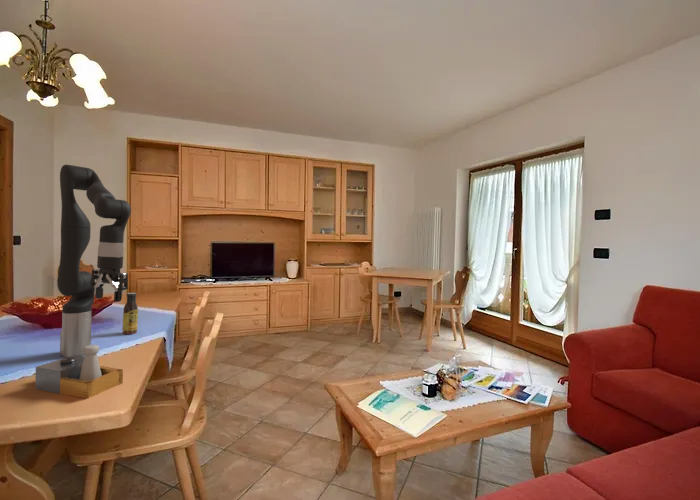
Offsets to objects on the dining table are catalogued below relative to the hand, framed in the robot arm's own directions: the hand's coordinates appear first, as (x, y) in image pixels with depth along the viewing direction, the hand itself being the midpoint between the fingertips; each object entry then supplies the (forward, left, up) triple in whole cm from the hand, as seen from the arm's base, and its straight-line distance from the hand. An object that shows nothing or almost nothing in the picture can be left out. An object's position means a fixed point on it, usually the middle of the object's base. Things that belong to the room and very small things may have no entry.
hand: (108, 300), depth 122 cm
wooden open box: (+2, -12, -26) cm, 28 cm away
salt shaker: (+8, -12, -25) cm, 29 cm away
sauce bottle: (-32, +40, -26) cm, 57 cm away
